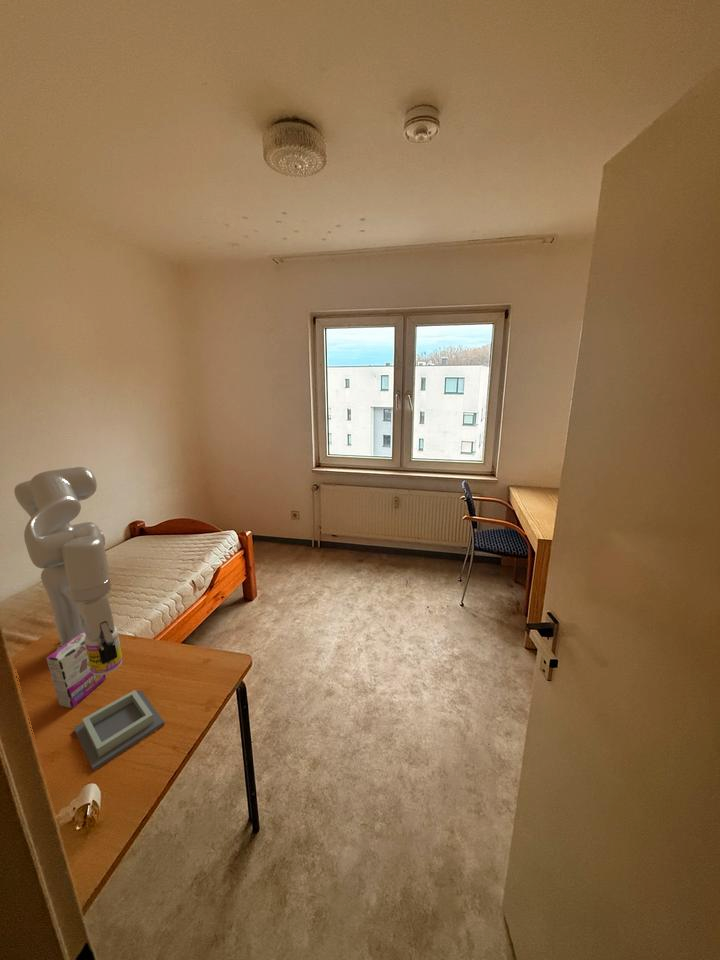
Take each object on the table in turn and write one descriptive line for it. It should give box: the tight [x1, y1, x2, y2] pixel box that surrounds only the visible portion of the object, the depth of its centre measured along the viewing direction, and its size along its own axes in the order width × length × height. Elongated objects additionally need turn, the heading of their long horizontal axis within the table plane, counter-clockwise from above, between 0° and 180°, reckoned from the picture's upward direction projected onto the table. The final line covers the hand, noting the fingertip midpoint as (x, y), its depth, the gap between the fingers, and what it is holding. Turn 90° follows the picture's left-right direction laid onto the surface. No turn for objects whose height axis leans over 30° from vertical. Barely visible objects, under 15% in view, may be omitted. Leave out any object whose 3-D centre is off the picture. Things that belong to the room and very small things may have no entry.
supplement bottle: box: [85, 625, 123, 676], centre depth 90 cm, size 7×7×13 cm
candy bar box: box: [45, 632, 107, 709], centre depth 106 cm, size 11×5×16 cm, turn 168°
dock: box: [73, 689, 165, 772], centre depth 96 cm, size 16×16×4 cm
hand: (104, 652), depth 91 cm, fingers closed on supplement bottle, 6 cm apart
